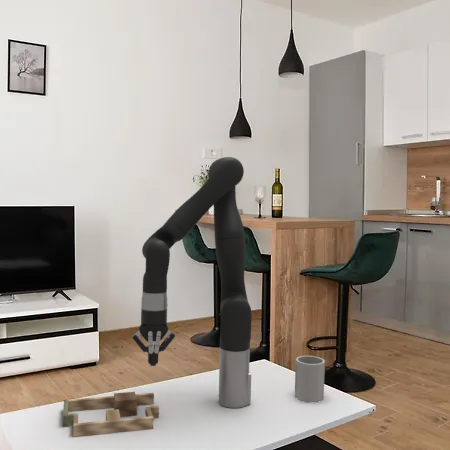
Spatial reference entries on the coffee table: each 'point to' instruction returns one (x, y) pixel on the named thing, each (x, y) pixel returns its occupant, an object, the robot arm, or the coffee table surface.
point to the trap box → (108, 416)
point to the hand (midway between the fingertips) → (152, 365)
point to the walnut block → (126, 404)
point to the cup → (309, 378)
